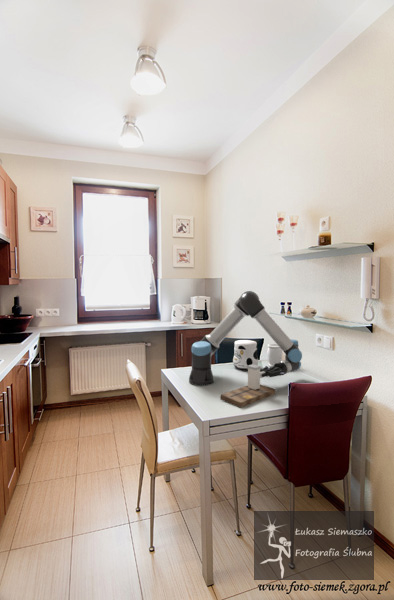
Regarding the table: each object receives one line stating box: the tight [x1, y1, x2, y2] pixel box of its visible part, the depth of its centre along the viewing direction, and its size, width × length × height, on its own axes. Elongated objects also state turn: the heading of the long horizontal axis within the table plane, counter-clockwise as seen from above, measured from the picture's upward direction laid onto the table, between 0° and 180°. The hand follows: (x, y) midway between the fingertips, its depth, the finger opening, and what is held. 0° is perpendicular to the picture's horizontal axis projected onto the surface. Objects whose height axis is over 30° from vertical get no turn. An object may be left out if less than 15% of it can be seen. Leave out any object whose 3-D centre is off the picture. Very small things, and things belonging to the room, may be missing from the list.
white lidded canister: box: [247, 364, 262, 390], centre depth 172 cm, size 5×6×12 cm
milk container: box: [232, 339, 259, 370], centre depth 221 cm, size 17×17×18 cm
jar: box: [266, 343, 283, 367], centre depth 225 cm, size 11×10×15 cm
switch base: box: [219, 383, 277, 408], centre depth 168 cm, size 28×14×3 cm, turn 130°
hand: (256, 376), depth 174 cm, fingers closed
